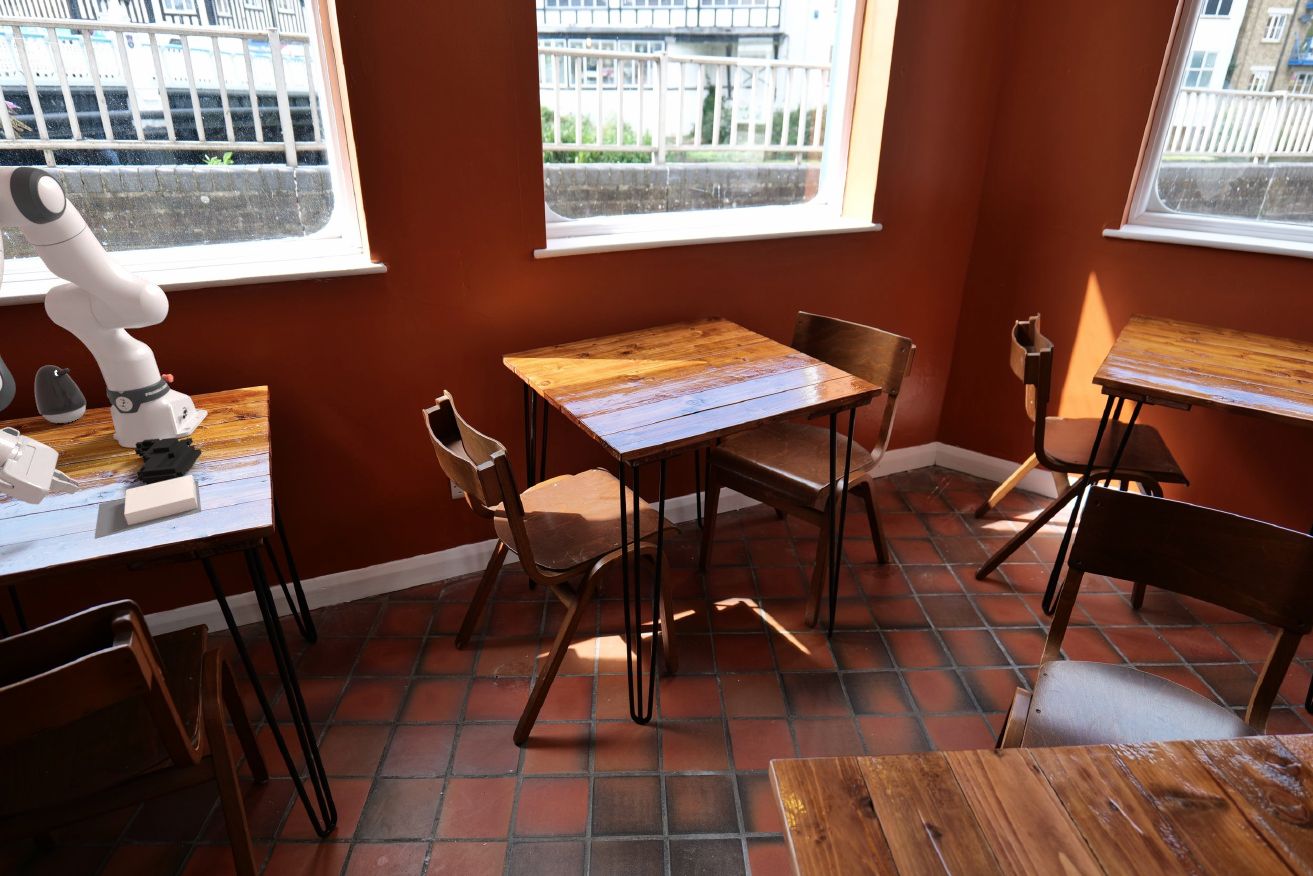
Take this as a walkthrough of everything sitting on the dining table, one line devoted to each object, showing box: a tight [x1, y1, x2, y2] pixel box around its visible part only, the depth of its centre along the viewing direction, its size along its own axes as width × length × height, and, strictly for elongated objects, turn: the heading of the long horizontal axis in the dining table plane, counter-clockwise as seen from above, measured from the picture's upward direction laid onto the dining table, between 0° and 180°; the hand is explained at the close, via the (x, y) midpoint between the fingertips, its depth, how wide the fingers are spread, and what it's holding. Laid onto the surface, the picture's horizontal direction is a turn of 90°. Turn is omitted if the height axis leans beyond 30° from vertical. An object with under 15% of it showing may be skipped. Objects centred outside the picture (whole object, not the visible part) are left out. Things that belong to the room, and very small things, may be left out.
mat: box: [94, 480, 202, 540], centre depth 154 cm, size 18×16×1 cm
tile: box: [124, 474, 198, 525], centre depth 155 cm, size 3×12×12 cm
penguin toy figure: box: [34, 364, 87, 424], centre depth 196 cm, size 10×10×15 cm
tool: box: [134, 437, 202, 485], centre depth 170 cm, size 5×20×15 cm
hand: (76, 488), depth 146 cm, fingers closed
